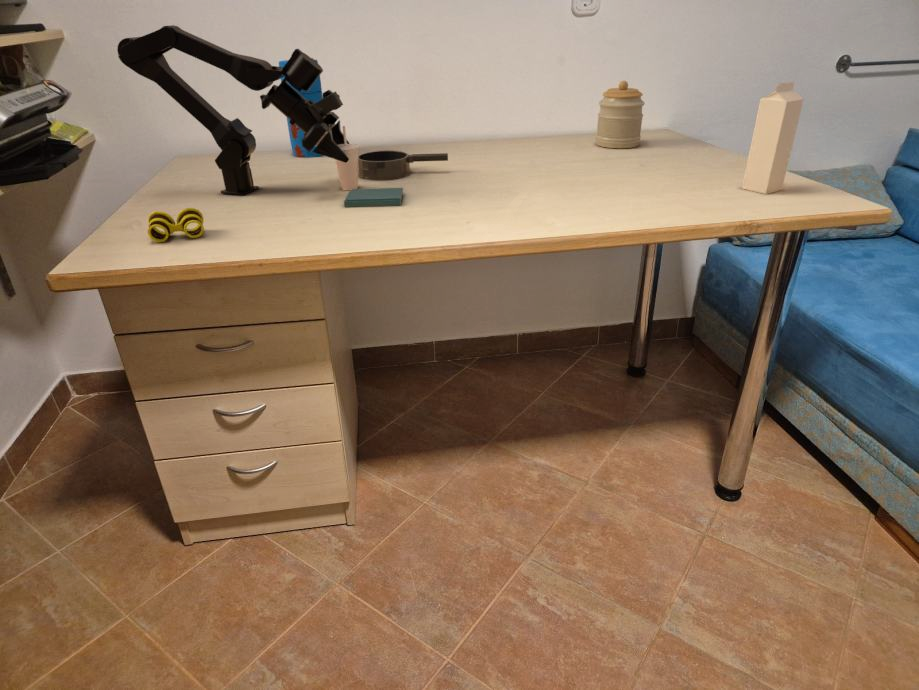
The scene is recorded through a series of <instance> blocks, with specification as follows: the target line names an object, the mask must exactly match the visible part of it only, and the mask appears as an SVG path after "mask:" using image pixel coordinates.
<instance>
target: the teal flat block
mask: <svg viewBox="0 0 919 690" xmlns="http://www.w3.org/2000/svg"><path fill="white" fill-rule="evenodd" d="M403 191H404V188H403V187H383V188H382V187H381V188H357V189H352V190H348V194H347V195H346V197H345V199H344V201H343V204H344V208H361V207H363V208H364V207H366V208H367V207H394V206H395V207H399V206H401V205H402V200H403V195H404V192H403Z"/></svg>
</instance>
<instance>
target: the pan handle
mask: <svg viewBox="0 0 919 690" xmlns="http://www.w3.org/2000/svg"><path fill="white" fill-rule="evenodd" d="M448 161H449V153H448V152H446V153H444V152H443V153H441V152H440V153H413V154H409V163H410V164H413V163H415V162H448Z"/></svg>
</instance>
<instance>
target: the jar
mask: <svg viewBox="0 0 919 690" xmlns="http://www.w3.org/2000/svg"><path fill="white" fill-rule="evenodd" d="M643 94H644V93H642V92H641V91H639V89H638V88H633V87H629V83H628V81H626V80H621V81H620V82H619V83H618V87H613V88H608V89H607V90H606V91H604V92H603V93H602V96H603V98H602V99H601V100H600V101H599V102H598V105H599V106H600V107H599V113H597V128H596V134H595V143H596V146H599V147H602V148H608V149H631V148H636V147H638V146H640V142H641V132H642V123H643V118H644V114H643V107H644V105H645V104H646V103H645V101H644V100H642V97H643Z"/></svg>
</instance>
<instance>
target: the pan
mask: <svg viewBox="0 0 919 690" xmlns="http://www.w3.org/2000/svg"><path fill="white" fill-rule="evenodd" d="M409 155H410V154H409V153H408V152H406V151H401V150H374V151H367V152H364V153H360V154H358V178H360V179H364V180H369V181H390V180H397V179H402V178H405V177H407V176H409V175H410V174H411V163H409Z"/></svg>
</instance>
